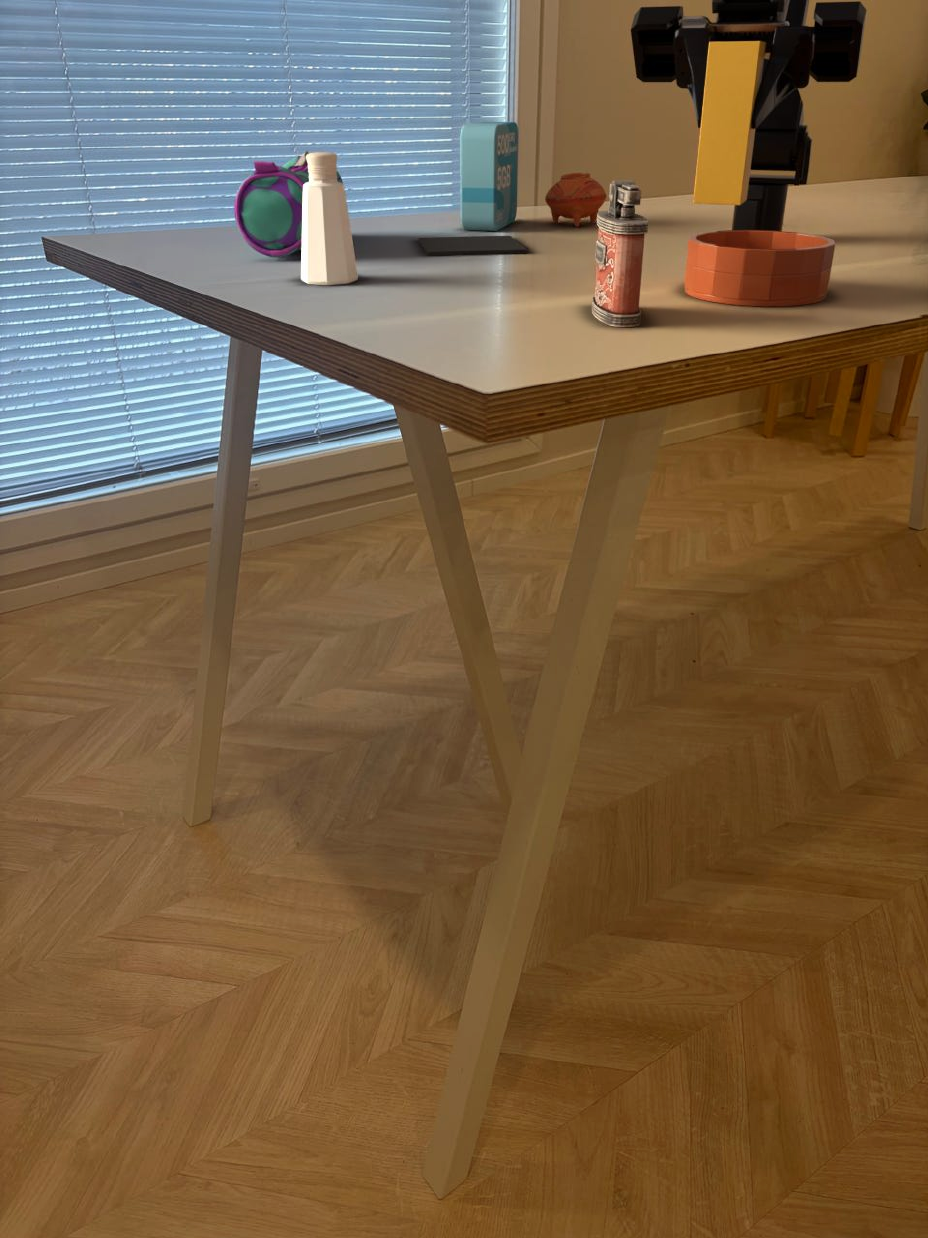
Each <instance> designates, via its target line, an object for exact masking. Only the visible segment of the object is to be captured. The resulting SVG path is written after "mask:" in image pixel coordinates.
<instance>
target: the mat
mask: <svg viewBox="0 0 928 1238" xmlns="http://www.w3.org/2000/svg"><path fill="white" fill-rule="evenodd" d="M417 241H418V243H419V245H420V246H421V247H422V249H423V251H424V252H425V253H426V255H427V256H461V255H462V256H463V255H464V256H465V255H467V256H468V255H500V254H501V255H502V254H503V255H506V254H507V255H508V254H509V255H510V254H528V249H527V248H526V247H525V246H524V245H522V244H521V243H520V242H518V241H517V240H516V239H515V238H514V237H512V236H511V235H477V236H476V235H475V236H473V235H472V236H432V237H430V236H429V237H425V236H424V237H417Z"/></svg>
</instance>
